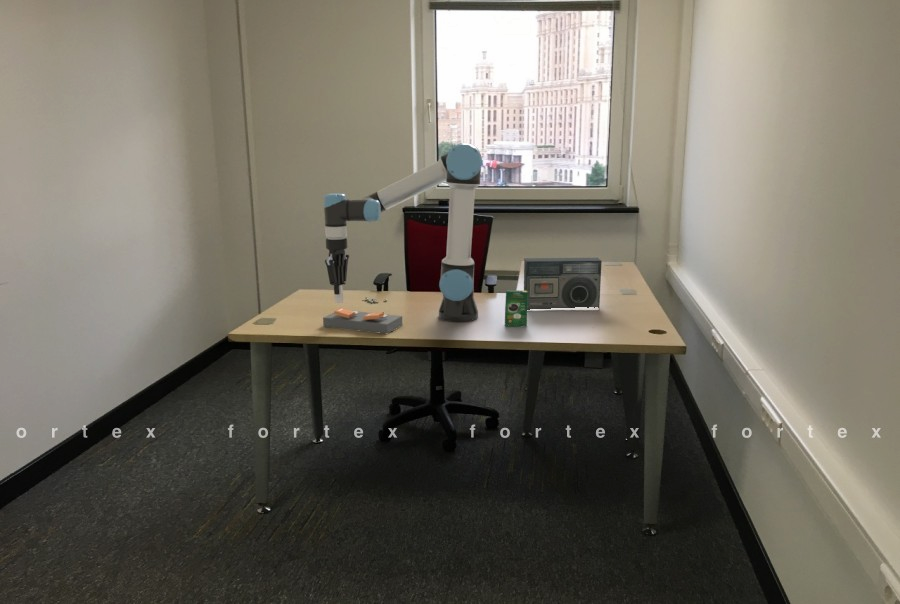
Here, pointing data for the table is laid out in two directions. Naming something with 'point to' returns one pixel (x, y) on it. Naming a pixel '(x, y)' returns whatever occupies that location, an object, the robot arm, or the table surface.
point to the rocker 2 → (373, 315)
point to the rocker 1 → (344, 312)
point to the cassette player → (562, 282)
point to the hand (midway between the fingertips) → (339, 302)
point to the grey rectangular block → (363, 322)
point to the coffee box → (516, 308)
